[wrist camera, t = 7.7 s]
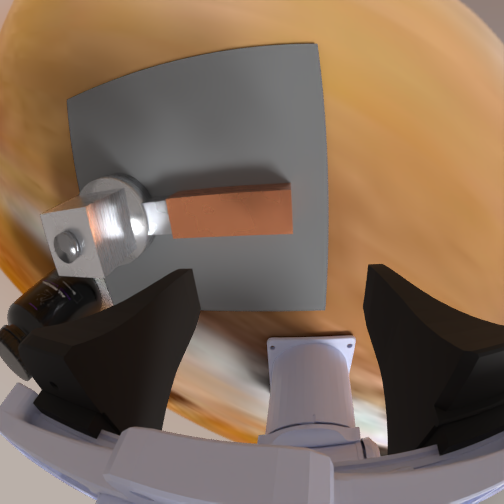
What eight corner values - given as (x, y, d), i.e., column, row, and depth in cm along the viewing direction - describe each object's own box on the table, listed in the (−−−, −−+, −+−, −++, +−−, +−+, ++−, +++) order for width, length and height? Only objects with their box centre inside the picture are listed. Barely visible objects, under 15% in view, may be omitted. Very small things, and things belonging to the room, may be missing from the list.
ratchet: (293, 249, 20) (294, 279, 17) (100, 255, 23) (73, 278, 19) (288, 151, 17) (288, 158, 14) (81, 180, 20) (48, 194, 16)
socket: (137, 247, 20) (100, 283, 15) (92, 249, 20) (54, 280, 16) (124, 187, 18) (79, 210, 13) (79, 195, 18) (34, 217, 14)
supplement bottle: (86, 255, 24) (3, 330, 13) (114, 314, 26) (52, 397, 16) (49, 264, 25) (-23, 325, 14) (74, 315, 28) (16, 383, 17)
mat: (324, 307, 23) (325, 310, 22) (115, 303, 26) (113, 305, 25) (316, 44, 14) (317, 43, 14) (69, 99, 17) (66, 99, 17)
